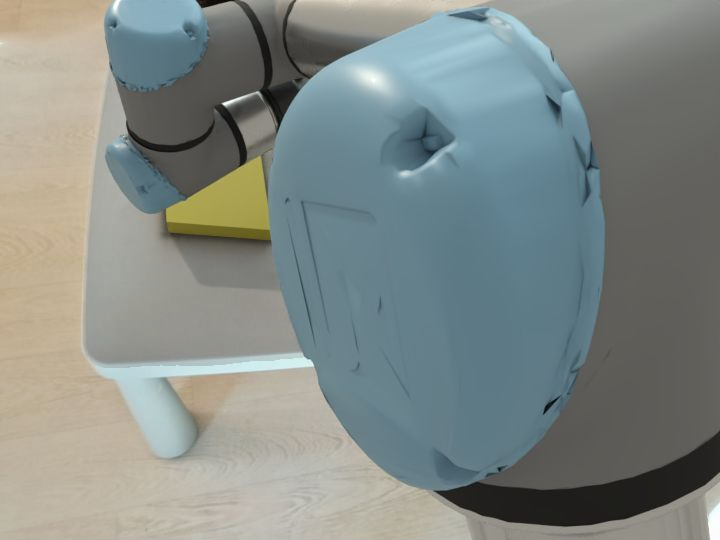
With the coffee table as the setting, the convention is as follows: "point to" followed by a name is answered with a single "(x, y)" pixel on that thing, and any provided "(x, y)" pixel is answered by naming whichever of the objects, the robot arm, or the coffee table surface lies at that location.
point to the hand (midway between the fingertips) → (399, 38)
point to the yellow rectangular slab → (226, 207)
